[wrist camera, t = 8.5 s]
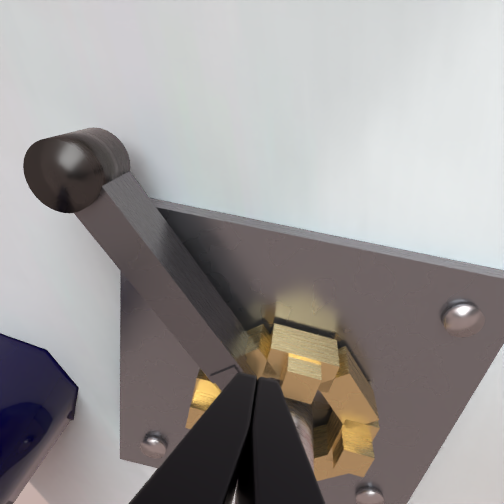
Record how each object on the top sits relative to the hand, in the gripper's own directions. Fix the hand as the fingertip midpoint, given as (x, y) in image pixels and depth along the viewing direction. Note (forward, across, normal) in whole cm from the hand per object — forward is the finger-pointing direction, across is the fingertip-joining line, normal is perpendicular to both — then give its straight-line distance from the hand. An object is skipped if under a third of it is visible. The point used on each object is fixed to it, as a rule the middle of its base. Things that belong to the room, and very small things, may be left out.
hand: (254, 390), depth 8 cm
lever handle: (+10, +2, +6) cm, 12 cm away
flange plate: (+12, -2, +11) cm, 16 cm away
